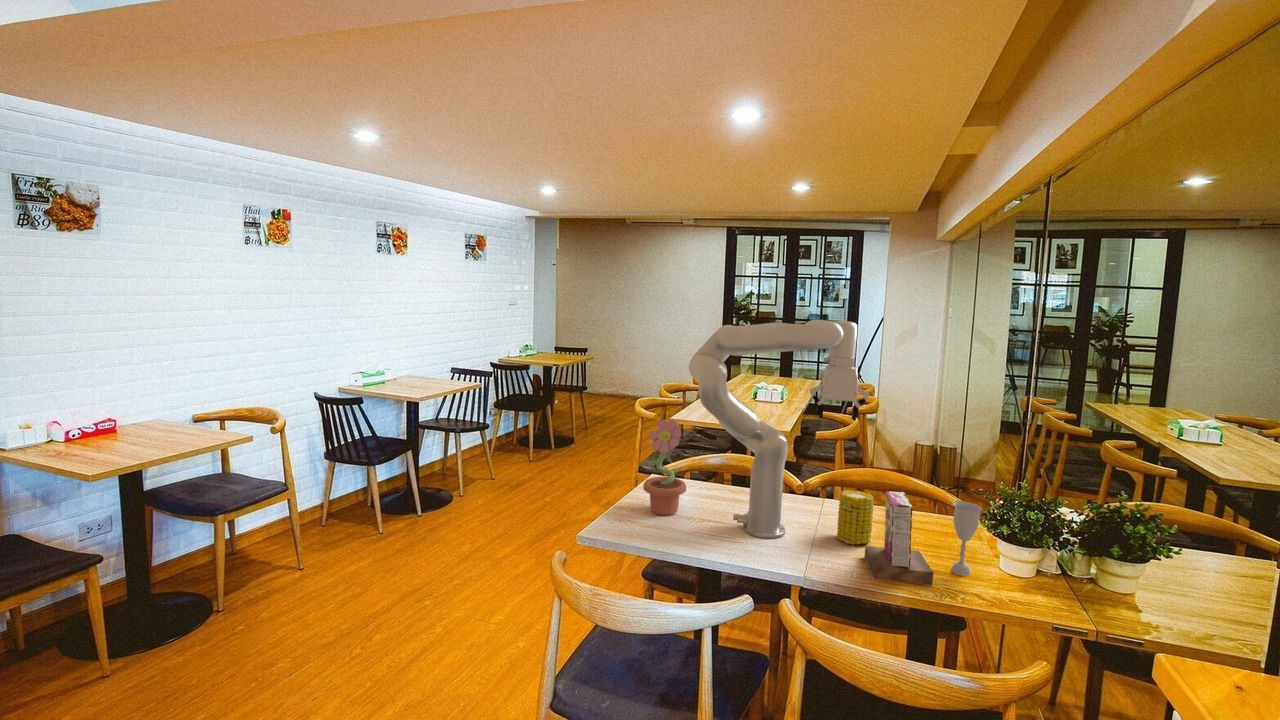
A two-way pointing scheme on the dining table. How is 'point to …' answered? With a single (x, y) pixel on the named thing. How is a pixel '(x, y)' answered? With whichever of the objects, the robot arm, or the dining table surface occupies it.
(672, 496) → the decorative flower
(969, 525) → the chalice
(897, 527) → the candy bar box
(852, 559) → the dining table surface
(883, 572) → the walnut block
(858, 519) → the food
